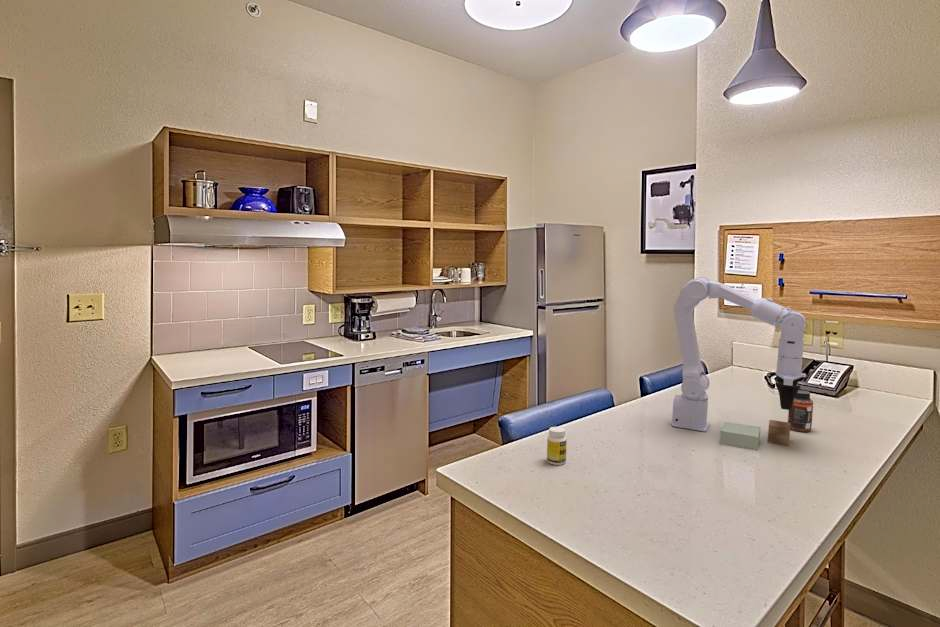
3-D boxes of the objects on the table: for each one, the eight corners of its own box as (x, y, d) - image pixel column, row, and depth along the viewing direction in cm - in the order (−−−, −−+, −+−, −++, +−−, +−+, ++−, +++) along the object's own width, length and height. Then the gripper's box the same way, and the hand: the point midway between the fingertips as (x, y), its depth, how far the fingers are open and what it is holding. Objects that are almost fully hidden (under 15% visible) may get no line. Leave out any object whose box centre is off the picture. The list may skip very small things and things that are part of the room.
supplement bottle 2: (814, 433, 152) (818, 394, 150) (791, 431, 153) (794, 393, 151) (806, 426, 157) (809, 389, 156) (784, 425, 159) (786, 388, 157)
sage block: (719, 444, 144) (720, 430, 143) (723, 434, 152) (724, 421, 151) (757, 451, 139) (758, 437, 139) (759, 440, 147) (760, 426, 146)
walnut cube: (767, 442, 145) (768, 424, 144) (768, 436, 149) (769, 419, 149) (788, 446, 142) (790, 428, 142) (788, 440, 147) (790, 422, 146)
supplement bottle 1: (561, 467, 129) (562, 433, 128) (543, 462, 132) (544, 430, 131) (568, 460, 133) (569, 428, 132) (551, 456, 136) (552, 424, 135)
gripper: (808, 363, 134) (803, 415, 136) (806, 353, 146) (802, 400, 148) (776, 360, 138) (772, 410, 139) (777, 350, 150) (773, 397, 152)
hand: (785, 405), depth 144 cm, fingers open, 7 cm apart
